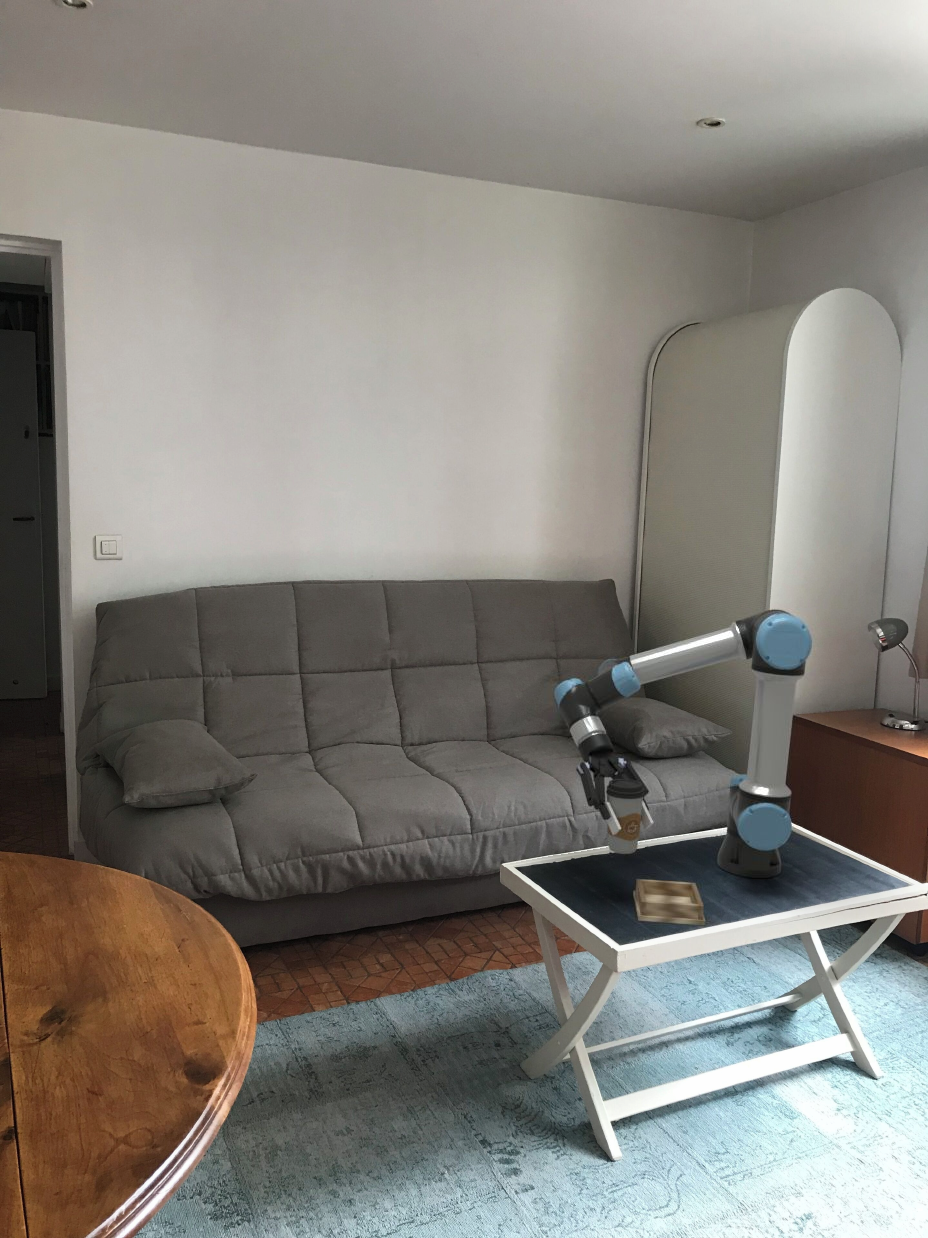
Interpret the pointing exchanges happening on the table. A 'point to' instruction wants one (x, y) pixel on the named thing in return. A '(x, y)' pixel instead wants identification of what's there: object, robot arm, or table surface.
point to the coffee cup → (625, 814)
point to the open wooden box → (668, 902)
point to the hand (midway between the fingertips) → (633, 828)
